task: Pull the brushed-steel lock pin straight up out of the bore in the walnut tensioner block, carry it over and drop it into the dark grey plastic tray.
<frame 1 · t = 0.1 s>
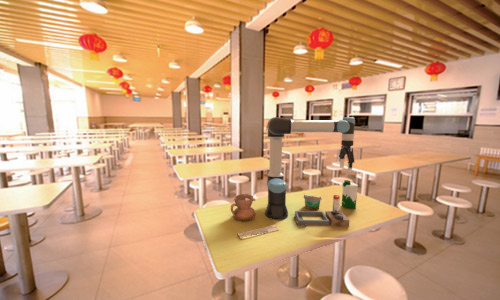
hand: (345, 169, 147), 28 cm above the table, fingers open, 13 cm apart
milk carton: (348, 208, 151), on the table
half moon wedge: (311, 210, 147), on the table
newspaper: (258, 234, 118), on the table
tensioner block: (336, 223, 129), on the table
ceramic jug: (243, 217, 136), on the table
tray: (311, 221, 131), on the table
lock pin: (335, 219, 131), point 1 cm above the table, touching tensioner block
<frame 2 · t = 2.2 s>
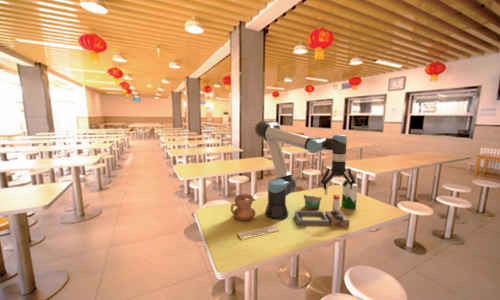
hand: (337, 194, 129), 18 cm above the table, fingers open, 13 cm apart
nothing on the table moved.
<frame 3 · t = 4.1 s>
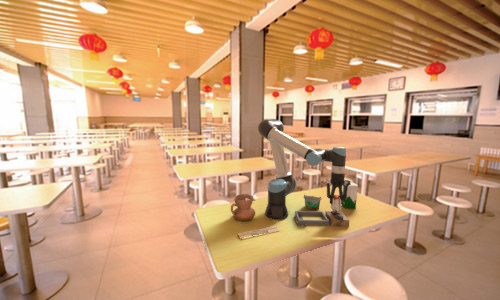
hand: (335, 208, 130), 8 cm above the table, fingers closed on lock pin, 4 cm apart
lock pin: (335, 219, 131), point 1 cm above the table, touching gripper, tensioner block
everything else where it was.
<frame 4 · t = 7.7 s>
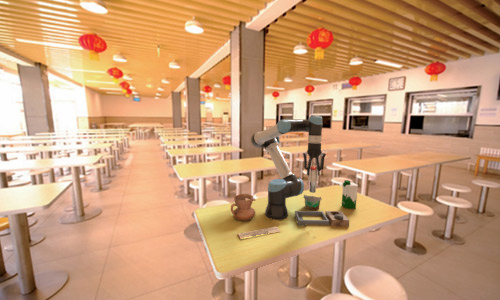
hand: (312, 180, 128), 26 cm above the table, fingers closed on lock pin, 4 cm apart
lock pin: (312, 191, 129), point 19 cm above the table, touching gripper
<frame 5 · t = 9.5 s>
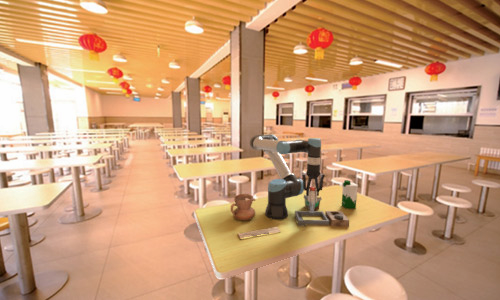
hand: (312, 200, 129), 13 cm above the table, fingers closed on lock pin, 4 cm apart
lock pin: (311, 211, 130), point 6 cm above the table, touching gripper
when the fingers open (8 cm above the table, at t = 11.1 s): lock pin stays where it is, resting on tray.
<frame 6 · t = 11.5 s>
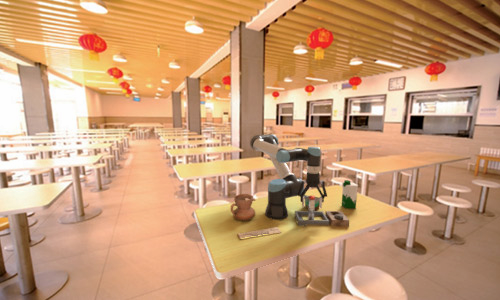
hand: (311, 207, 130), 9 cm above the table, fingers open, 10 cm apart
lock pin: (311, 220, 131), point 1 cm above the table, touching tray
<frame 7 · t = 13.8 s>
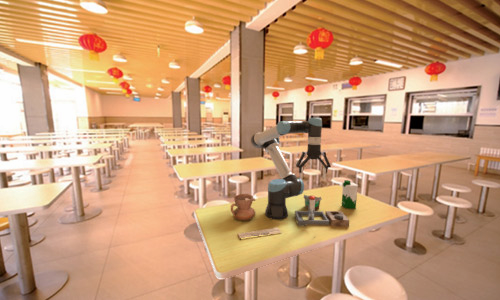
hand: (312, 178, 128), 28 cm above the table, fingers open, 13 cm apart
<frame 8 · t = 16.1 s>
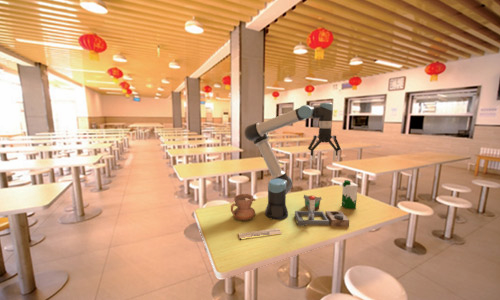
hand: (323, 160, 136), 37 cm above the table, fingers open, 13 cm apart
at the end: lock pin inside the target area on the tray (0.0 cm from its centre), point 0.6 cm above the tray's base; the gripper is holding nothing; lock pin touching tray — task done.
